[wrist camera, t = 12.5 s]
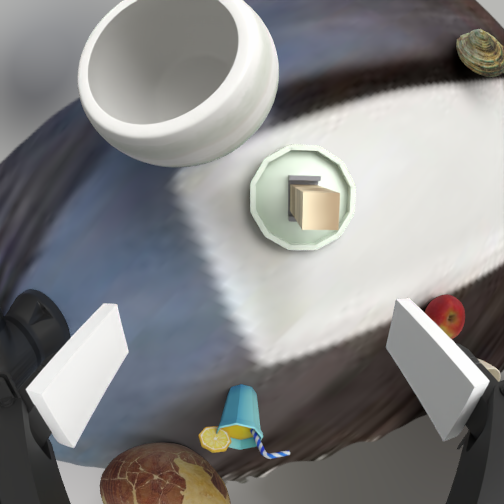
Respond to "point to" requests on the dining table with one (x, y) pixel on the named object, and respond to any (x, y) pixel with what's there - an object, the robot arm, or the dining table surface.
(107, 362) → the robot arm
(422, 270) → the dining table surface
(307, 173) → the dish
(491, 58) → the seashell
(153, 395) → the dining table surface
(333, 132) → the dining table surface
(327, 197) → the tan wooden block
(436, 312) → the apple
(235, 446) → the cup
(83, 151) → the dining table surface
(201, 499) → the vase
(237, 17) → the planter
